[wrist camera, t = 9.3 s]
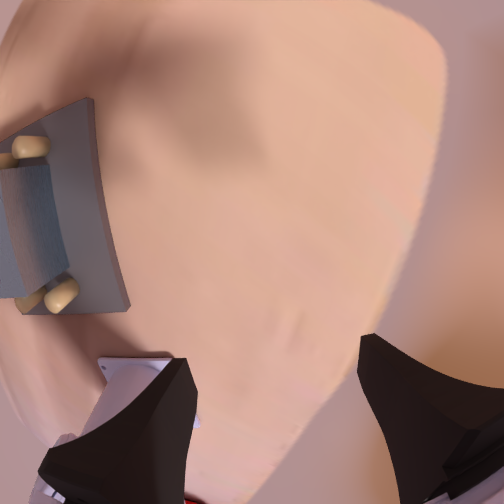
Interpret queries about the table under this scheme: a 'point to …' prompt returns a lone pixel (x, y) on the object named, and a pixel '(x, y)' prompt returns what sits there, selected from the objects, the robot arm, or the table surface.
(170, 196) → the table surface
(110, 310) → the grey pegged base plate
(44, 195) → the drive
